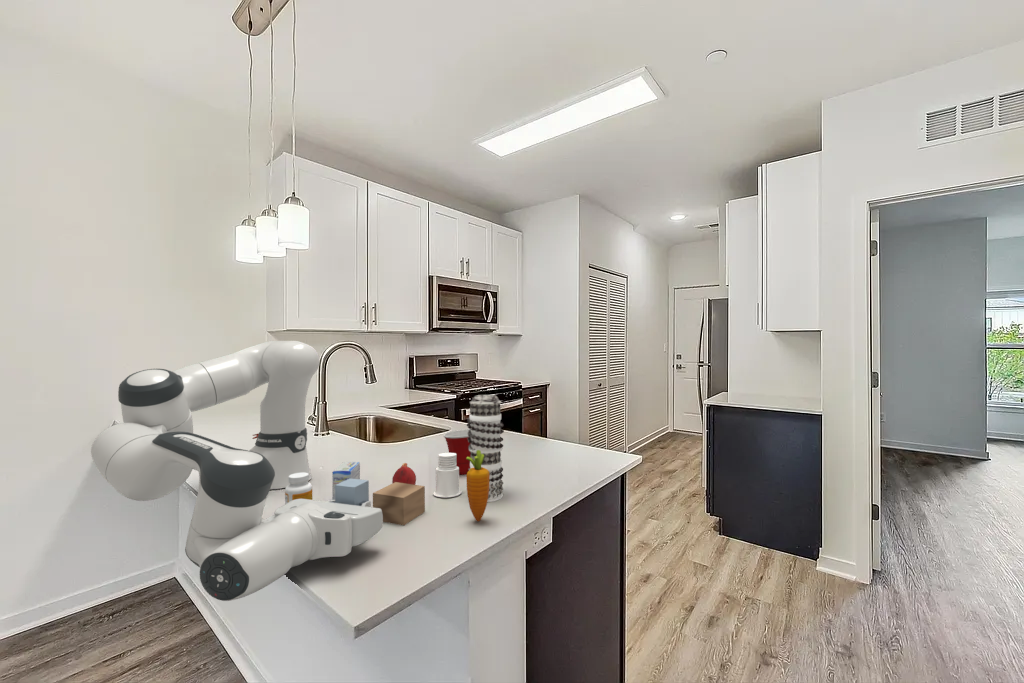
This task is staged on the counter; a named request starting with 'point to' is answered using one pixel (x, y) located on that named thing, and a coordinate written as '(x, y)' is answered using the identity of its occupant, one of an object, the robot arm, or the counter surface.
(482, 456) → the carrot
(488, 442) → the decorative candle
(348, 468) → the medicine box
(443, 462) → the downlight
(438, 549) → the counter surface
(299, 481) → the supplement bottle
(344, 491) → the slate pillar
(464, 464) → the plastic cup
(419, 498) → the walnut block
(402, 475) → the red round fruit
